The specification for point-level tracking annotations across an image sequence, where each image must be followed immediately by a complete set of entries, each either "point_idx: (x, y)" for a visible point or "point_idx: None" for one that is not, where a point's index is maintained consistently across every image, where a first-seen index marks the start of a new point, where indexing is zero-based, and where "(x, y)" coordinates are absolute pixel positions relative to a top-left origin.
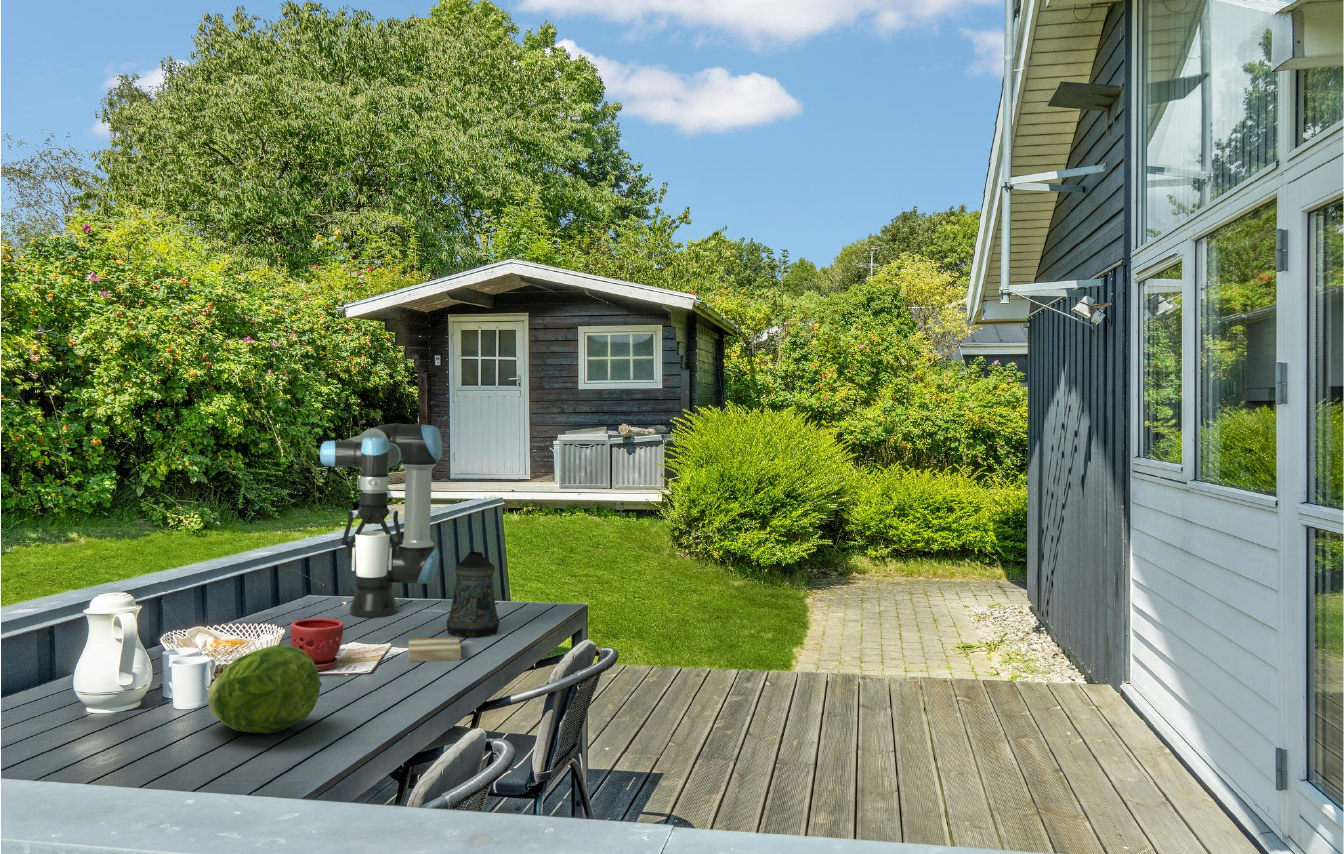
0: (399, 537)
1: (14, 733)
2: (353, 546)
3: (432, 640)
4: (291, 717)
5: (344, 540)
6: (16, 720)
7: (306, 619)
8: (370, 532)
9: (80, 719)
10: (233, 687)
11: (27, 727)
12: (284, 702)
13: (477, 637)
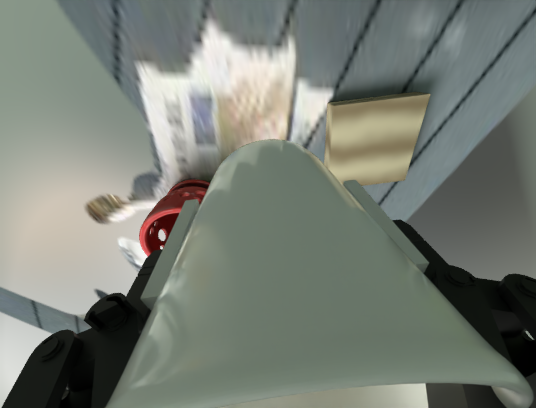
0: (527, 375)
1: None
2: (148, 301)
3: (375, 120)
4: None
5: (85, 400)
6: (33, 324)
7: (151, 221)
8: (254, 366)
9: (80, 321)
10: None
11: (58, 331)
12: None
13: None
